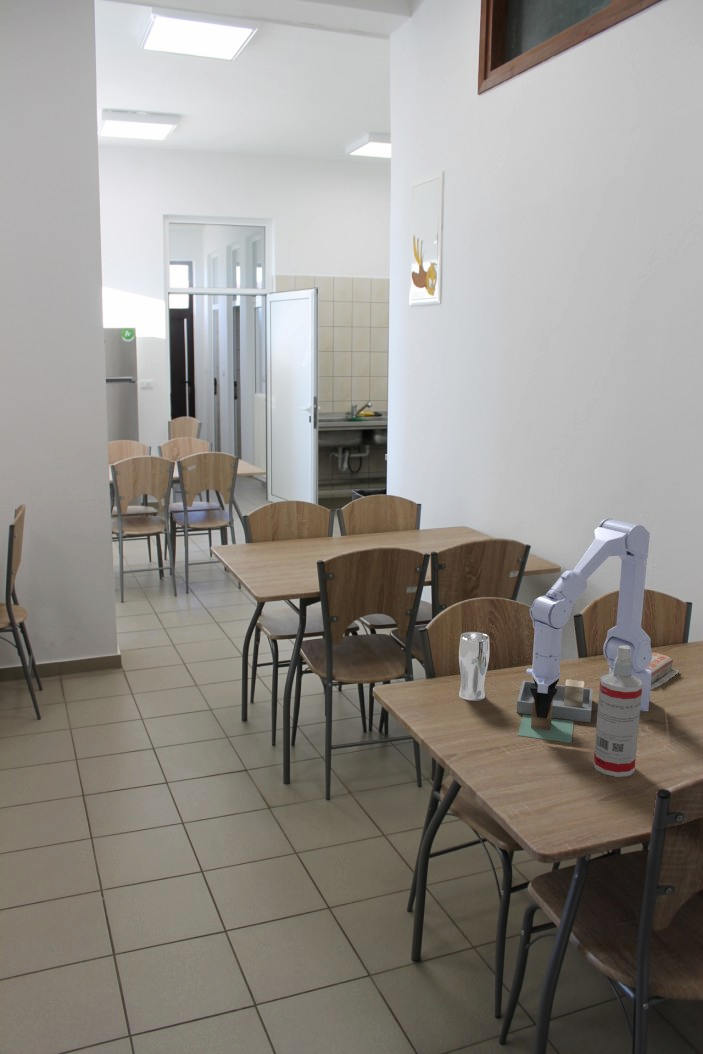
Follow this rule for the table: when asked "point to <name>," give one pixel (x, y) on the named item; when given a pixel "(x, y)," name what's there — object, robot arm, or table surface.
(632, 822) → the table surface
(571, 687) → the birch block
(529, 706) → the tray
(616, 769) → the spray bottle
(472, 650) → the beer glass
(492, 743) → the table surface
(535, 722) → the walnut block
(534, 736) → the mat
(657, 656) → the packaged product
